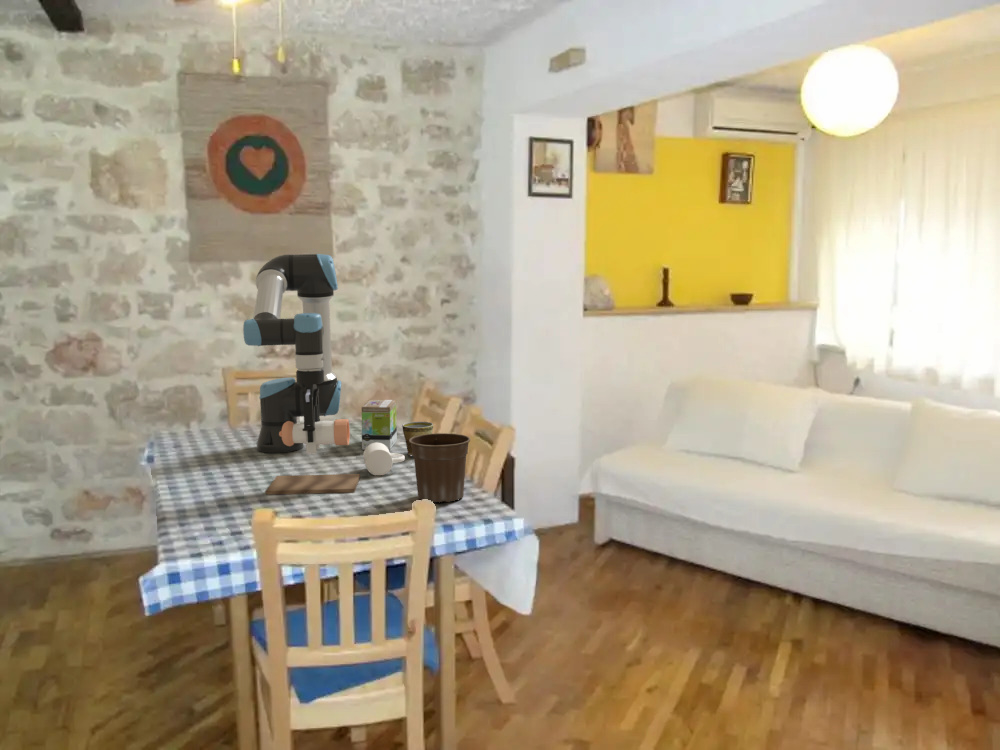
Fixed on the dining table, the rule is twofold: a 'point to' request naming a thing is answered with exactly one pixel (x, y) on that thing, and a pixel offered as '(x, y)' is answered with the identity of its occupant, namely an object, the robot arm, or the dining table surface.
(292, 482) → the walnut board
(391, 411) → the tea box
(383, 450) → the mug
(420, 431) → the ceramic cup
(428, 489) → the plant pot
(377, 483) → the dining table surface
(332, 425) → the pepper shaker
